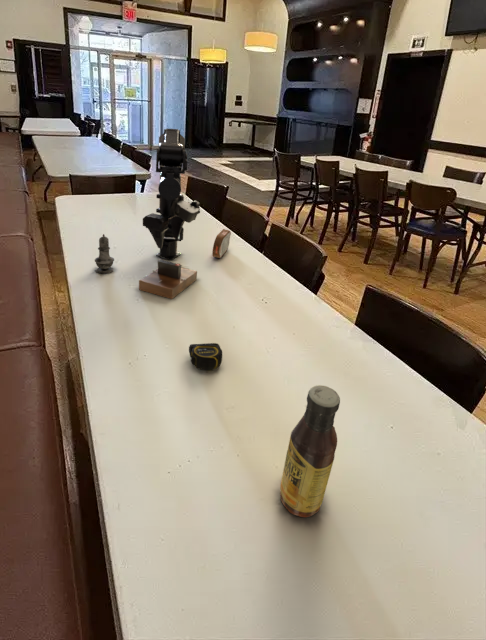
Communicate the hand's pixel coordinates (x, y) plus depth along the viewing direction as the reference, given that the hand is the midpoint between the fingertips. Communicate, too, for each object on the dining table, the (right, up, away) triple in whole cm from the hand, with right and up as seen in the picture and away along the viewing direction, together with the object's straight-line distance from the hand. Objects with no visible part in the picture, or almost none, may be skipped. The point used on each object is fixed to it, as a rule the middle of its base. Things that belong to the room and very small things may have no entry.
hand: (168, 243), depth 121 cm
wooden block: (0, -12, +3) cm, 13 cm away
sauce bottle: (+27, -40, -60) cm, 77 cm away
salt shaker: (-21, -8, +9) cm, 24 cm away
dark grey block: (0, -9, +2) cm, 10 cm away
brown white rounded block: (+15, -3, +29) cm, 33 cm away
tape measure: (+12, -27, -31) cm, 43 cm away
